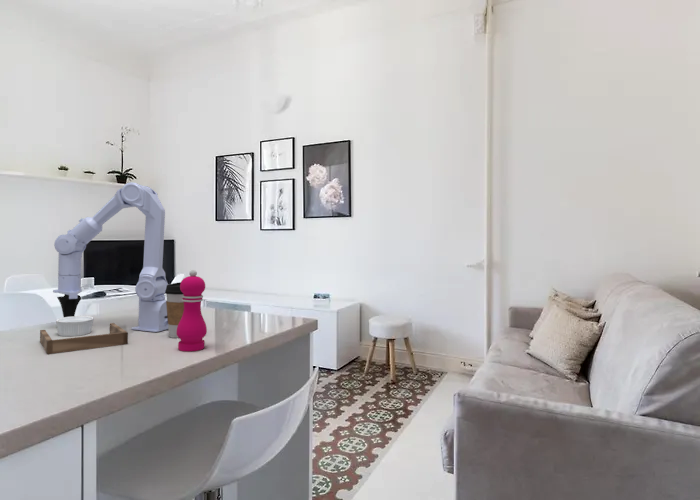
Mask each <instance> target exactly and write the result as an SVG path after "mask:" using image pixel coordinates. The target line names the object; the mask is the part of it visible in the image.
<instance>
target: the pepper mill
mask: <svg viewBox="0 0 700 500" xmlns="http://www.w3.org/2000/svg"><path fill="white" fill-rule="evenodd" d="M197 274H198V272H197V271H196V270H195V269H190V271H189V276H186V277H184V278H182V280H181V281H180V282H181V284H180V290H181V291H182V293H183V294H184V295H183V296H182V297H183V298H182V301H183V302H184V312H183V315H182V318H181V320H180V322H179V324H178V327H177V332H176V334H177V336H178V337H179V338H178V339H179V340H180V341H178V342H177V346H178V348H177V349H178V350H179V351H180V352H196V351H197V352H198V351H202V350H203V349H205V340H204V338H205V336H206V335H207V331H208V329H207V324H206V321H205V319H204V317H203V314H202V302H203V301H204V298H203V297H204V295H203V293H204V292H205V290H206V282H205V280H204V278H202V277H200V276H197Z"/></svg>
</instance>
